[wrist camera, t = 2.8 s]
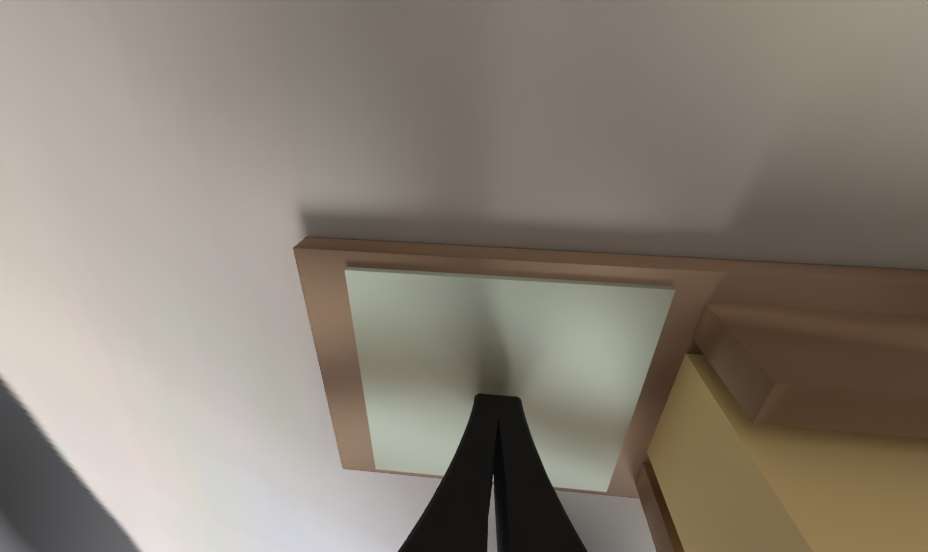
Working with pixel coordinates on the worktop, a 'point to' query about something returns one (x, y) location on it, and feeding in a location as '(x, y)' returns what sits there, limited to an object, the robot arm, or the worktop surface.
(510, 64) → the worktop surface
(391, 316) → the pocket board
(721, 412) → the ochre block
